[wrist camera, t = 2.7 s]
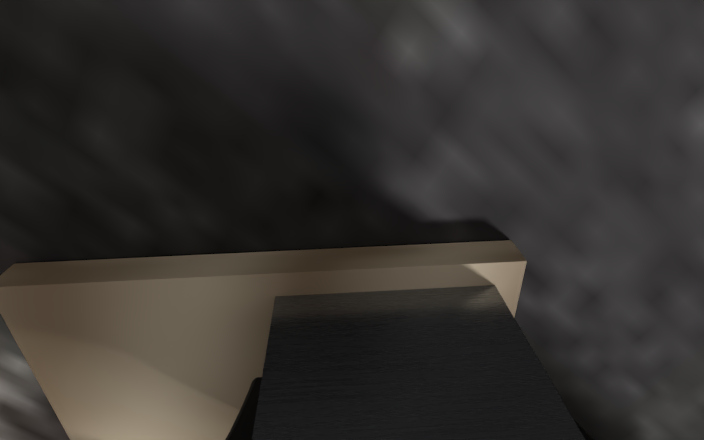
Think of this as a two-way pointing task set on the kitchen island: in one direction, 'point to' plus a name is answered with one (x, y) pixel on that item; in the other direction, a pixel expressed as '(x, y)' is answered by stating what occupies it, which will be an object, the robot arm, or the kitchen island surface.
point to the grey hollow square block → (405, 370)
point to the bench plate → (198, 325)
